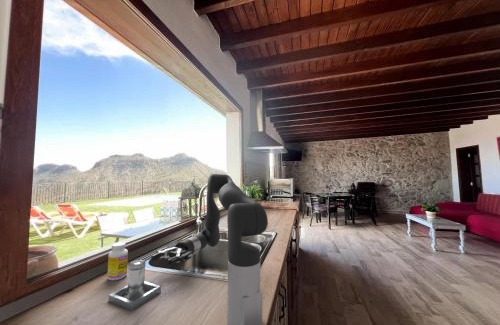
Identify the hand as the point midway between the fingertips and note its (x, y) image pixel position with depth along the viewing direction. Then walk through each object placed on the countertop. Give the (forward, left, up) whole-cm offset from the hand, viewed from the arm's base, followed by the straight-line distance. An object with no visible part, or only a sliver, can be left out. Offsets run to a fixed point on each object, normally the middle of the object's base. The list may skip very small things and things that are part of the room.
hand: (159, 260), depth 80 cm
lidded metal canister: (-5, +9, -8) cm, 13 cm away
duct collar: (-5, +9, -8) cm, 13 cm away
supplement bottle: (+14, +13, -8) cm, 21 cm away
